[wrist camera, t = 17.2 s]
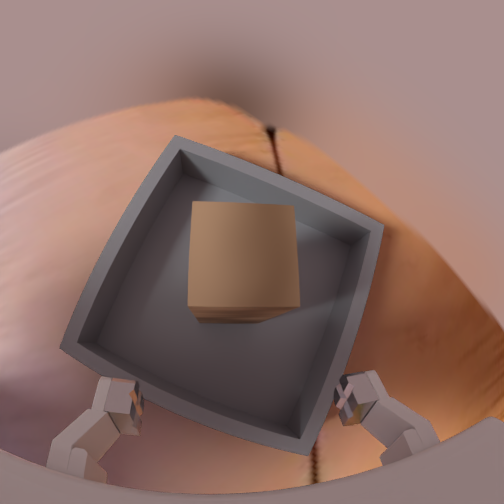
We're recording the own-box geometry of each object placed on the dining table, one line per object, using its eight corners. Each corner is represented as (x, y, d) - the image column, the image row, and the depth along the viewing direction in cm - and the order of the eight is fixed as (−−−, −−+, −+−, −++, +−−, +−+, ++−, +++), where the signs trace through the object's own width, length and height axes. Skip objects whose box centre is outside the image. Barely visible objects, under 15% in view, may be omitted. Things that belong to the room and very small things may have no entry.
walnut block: (199, 323, 23) (187, 306, 12) (200, 266, 25) (192, 201, 13) (257, 323, 24) (300, 306, 12) (256, 267, 25) (293, 205, 14)
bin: (85, 348, 22) (59, 348, 17) (179, 165, 28) (175, 134, 24) (290, 437, 22) (308, 456, 17) (359, 243, 28) (384, 225, 24)
